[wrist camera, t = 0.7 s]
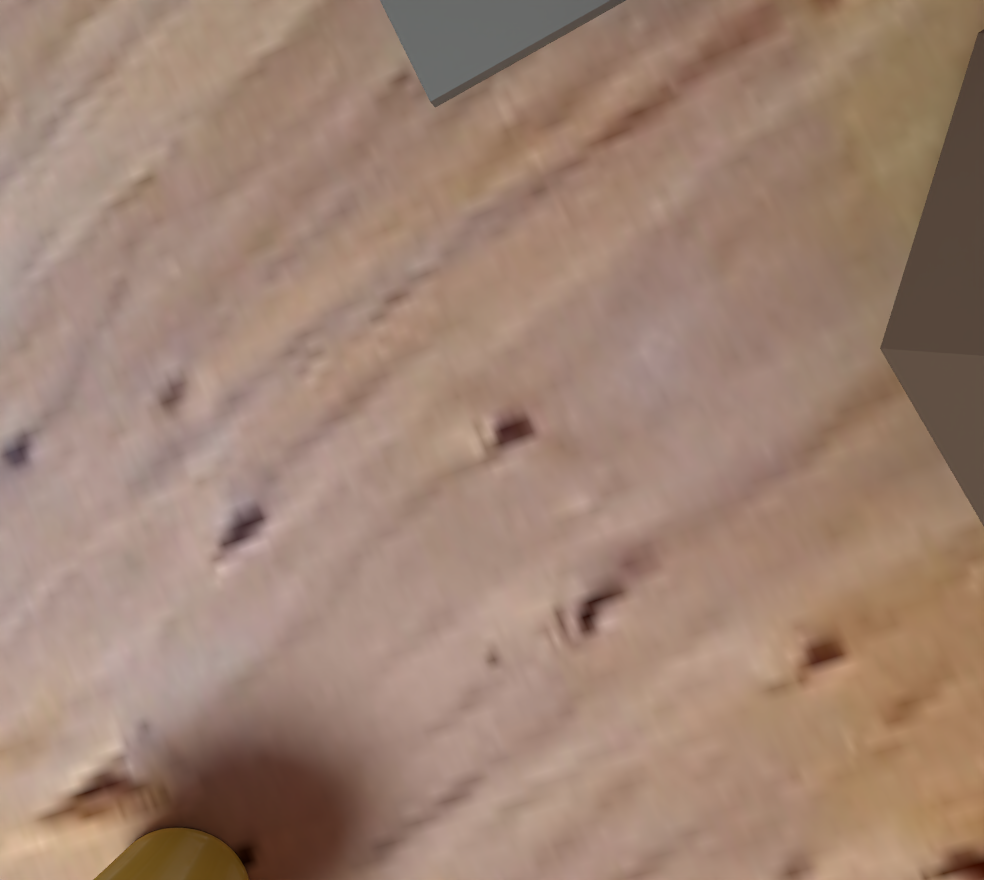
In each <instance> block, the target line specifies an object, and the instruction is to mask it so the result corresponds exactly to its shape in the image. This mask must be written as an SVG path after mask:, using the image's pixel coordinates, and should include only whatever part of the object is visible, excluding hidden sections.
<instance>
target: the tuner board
mask: <svg viewBox="0 0 984 880" xmlns="http://www.w3.org/2000/svg"><path fill="white" fill-rule="evenodd" d="M380 1H381V3H382V5H383V7H384V9H385V11H386V13H387V15H388V17H389V19H390V21H391V23H392V25H393V27H394V29H395V31H396V33H397V35H398V37H399V40H400V42H401V44H402V46H403V48H404V50H405V52H406V54H407V56H408V58H409V60H410V62H411V64H412V66H413V68H414V70H415V72H416V74H417V76H418V78H419V80H420V82H421V84H422V86H423V88H424V90H425V92H426V94H427V96H428V98H429V100H430V102H431V103H432V104H433V105H434V107H437V106H439V105H440V104H442V103H444V102H446V101H448V100H449V99H451V98H453V97H455V96H456V95H458V94H460V93H462V92H464V91H465V90H467V89H469V88H471V87H472V86H474V85H476V84H478V83H480V82H481V81H483V80H485V79H487V78H488V77H490V76H492V75H494V74H496V73H497V72H499V71H501V70H503V69H504V68H506V67H508V66H510V65H512V64H513V63H515V62H517V61H519V60H521V59H522V58H524V57H526V56H528V55H529V54H531V53H533V52H535V51H537V50H538V49H540V48H542V47H544V46H545V45H547V44H549V43H551V42H553V41H554V40H556V39H558V38H560V37H561V36H563V35H565V34H567V33H569V32H570V31H572V30H574V29H576V28H577V27H579V26H581V25H583V24H585V23H586V22H588V21H590V20H592V19H593V18H595V17H597V16H599V15H601V14H602V13H604V12H606V11H608V10H609V9H611V8H613V7H615V6H617V5H618V4H620V3H622V2H624V1H625V0H380Z"/></svg>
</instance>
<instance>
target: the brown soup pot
mask: <svg viewBox="0 0 984 880" xmlns="http://www.w3.org/2000/svg"><path fill="white" fill-rule="evenodd" d="M880 349H881V351H882V352H883V354H884V356H885V358H886V359H887V361H888V363H889V364H890V366H891V368H892V370H893V371H894V373H895V375H896V376H897V378H898V380H899V382H900V383H901V385H902V387H903V389H904V390H905V392H906V394H907V395H908V397H909V399H910V401H911V402H912V404H913V406H914V407H915V409H916V411H917V413H918V414H919V416H920V418H921V419H922V421H923V423H924V425H925V426H926V428H927V430H928V431H929V433H930V435H931V437H932V438H933V440H934V442H935V443H936V445H937V447H938V449H939V450H940V452H941V454H942V455H943V457H944V459H945V461H946V462H947V464H948V466H949V467H950V469H951V471H952V473H953V474H954V476H955V478H956V480H957V481H958V483H959V485H960V486H961V488H962V490H963V492H964V493H965V495H966V497H967V498H968V500H969V502H970V504H971V505H972V507H973V509H974V510H975V512H976V514H977V516H978V517H979V519H980V521H981V522H982V524H983V526H984V30H982V31H981V32H979V33H978V36H977V39H976V42H975V45H974V49H973V52H972V55H971V58H970V61H969V65H968V68H967V71H966V74H965V78H964V81H963V84H962V87H961V90H960V94H959V97H958V100H957V103H956V106H955V110H954V113H953V116H952V119H951V123H950V126H949V129H948V132H947V135H946V139H945V142H944V145H943V148H942V152H941V155H940V158H939V161H938V164H937V168H936V171H935V174H934V177H933V180H932V184H931V187H930V190H929V193H928V197H927V200H926V203H925V206H924V209H923V213H922V216H921V219H920V222H919V226H918V229H917V232H916V235H915V238H914V242H913V245H912V248H911V251H910V254H909V258H908V261H907V264H906V267H905V271H904V274H903V277H902V280H901V283H900V287H899V290H898V293H897V296H896V300H895V303H894V306H893V309H892V312H891V316H890V319H889V322H888V325H887V328H886V332H885V335H884V338H883V341H882V345H881V348H880Z"/></svg>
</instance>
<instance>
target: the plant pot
mask: <svg viewBox="0 0 984 880" xmlns="http://www.w3.org/2000/svg"><path fill="white" fill-rule="evenodd" d="M94 880H249V878H248V875H247V872H246V869H245V867H244V865H243V864H242V862H241V860H240V859H239V857H238V856H237V855H236V853H235V852H234V851H233V850H232V849H231V848H230V847H229V846H228V845H226V844H225V843H224V842H222V841H221V840H220V839H218V838H216V837H214V836H212V835H210V834H208V833H205V832H202V831H199V830H195V829H190V828H166V829H161V830H157V831H154V832H151V833H148V834H146V835H144V836H143V837H141V838H139V839H138V840H136V841H135V842H134V843H133V844H131V845H130V846H129V847H128V848H127V849H126V850H125V851H124V852H123V853H122V854H121V855H120V856H118V857H117V858H116V859H115V860H114V861H113V862H112V863H111V864H110V865H109V866H108V867H107V868H106V869H105V870H104V871H102V872H101V873H100V874H99V875H98V876H97V877H96V878H95V879H94Z"/></svg>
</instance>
